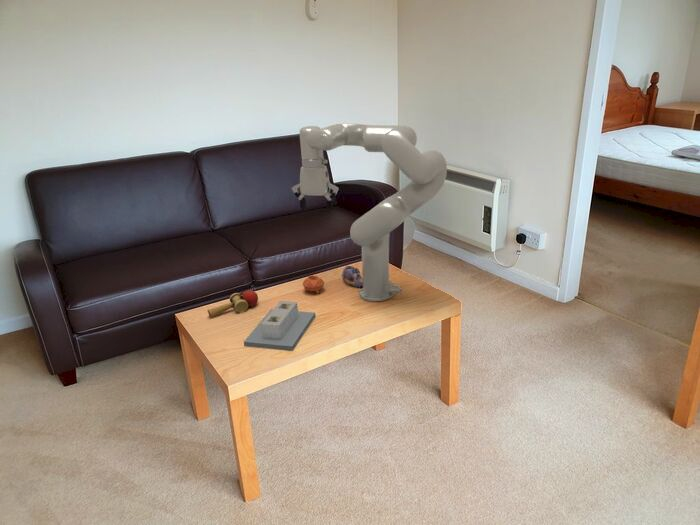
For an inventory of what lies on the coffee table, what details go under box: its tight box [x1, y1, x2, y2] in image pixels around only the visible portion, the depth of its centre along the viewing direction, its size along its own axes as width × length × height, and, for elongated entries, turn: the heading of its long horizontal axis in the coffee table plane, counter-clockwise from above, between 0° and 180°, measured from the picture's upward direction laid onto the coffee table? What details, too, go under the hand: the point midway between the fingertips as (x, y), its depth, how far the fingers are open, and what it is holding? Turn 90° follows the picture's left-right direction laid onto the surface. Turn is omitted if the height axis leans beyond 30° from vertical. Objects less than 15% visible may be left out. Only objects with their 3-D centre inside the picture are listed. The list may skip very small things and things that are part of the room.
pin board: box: [243, 308, 316, 352], centre depth 168 cm, size 16×22×5 cm
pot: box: [302, 274, 325, 295], centre depth 194 cm, size 8×8×7 cm
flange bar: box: [261, 300, 299, 340], centre depth 167 cm, size 16×6×5 cm, turn 165°
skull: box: [341, 265, 363, 289], centre depth 198 cm, size 12×8×6 cm, turn 26°
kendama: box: [207, 289, 259, 319], centre depth 183 cm, size 8×6×18 cm
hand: (316, 210), depth 187 cm, fingers open, 9 cm apart
